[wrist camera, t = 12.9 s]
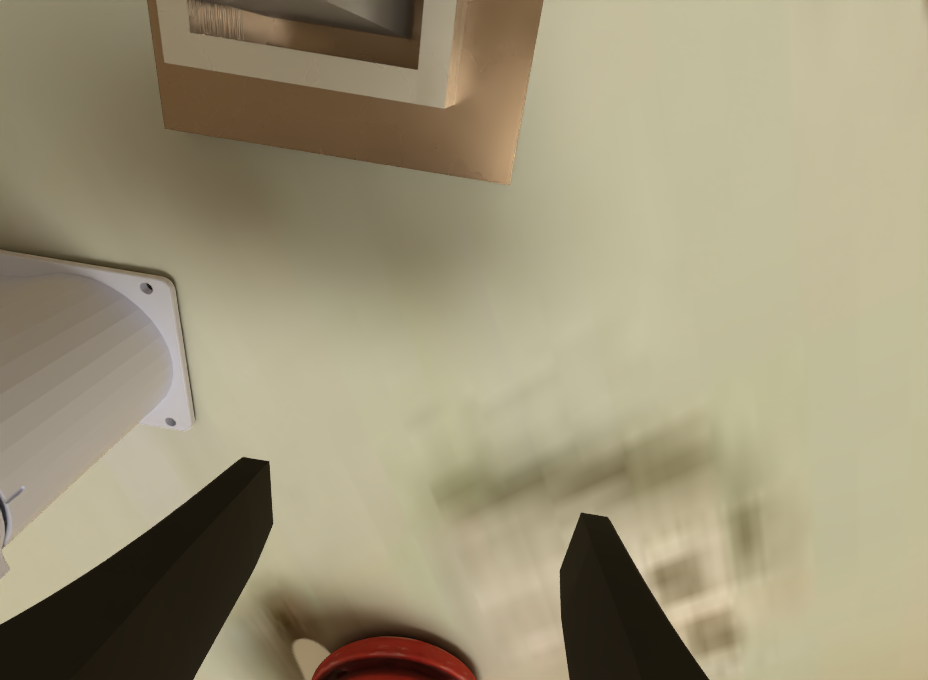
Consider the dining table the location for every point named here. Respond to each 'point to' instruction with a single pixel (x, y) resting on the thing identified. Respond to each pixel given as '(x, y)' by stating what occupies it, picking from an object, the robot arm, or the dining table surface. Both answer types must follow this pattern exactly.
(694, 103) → the dining table surface
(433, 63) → the duct collar
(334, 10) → the block
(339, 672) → the plant pot
